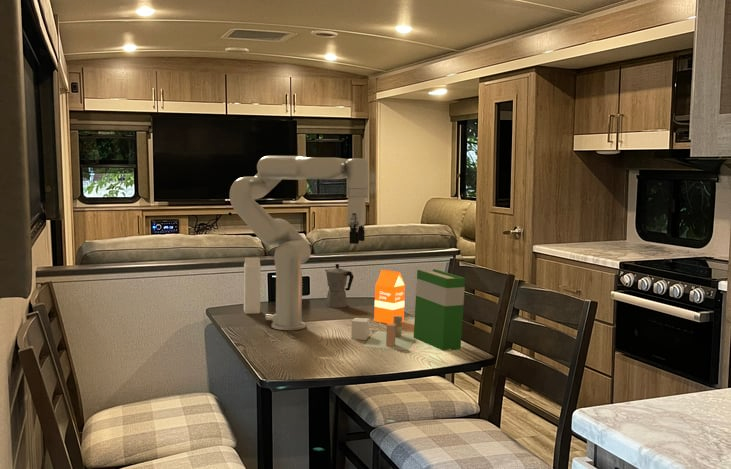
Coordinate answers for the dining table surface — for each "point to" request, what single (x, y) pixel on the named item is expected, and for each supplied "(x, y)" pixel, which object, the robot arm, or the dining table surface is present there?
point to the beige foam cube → (360, 328)
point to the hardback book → (439, 309)
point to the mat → (380, 341)
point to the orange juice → (389, 297)
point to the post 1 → (391, 335)
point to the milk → (252, 285)
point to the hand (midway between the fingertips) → (357, 242)
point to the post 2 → (398, 325)
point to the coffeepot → (337, 287)
